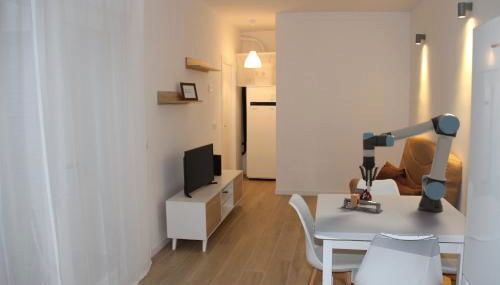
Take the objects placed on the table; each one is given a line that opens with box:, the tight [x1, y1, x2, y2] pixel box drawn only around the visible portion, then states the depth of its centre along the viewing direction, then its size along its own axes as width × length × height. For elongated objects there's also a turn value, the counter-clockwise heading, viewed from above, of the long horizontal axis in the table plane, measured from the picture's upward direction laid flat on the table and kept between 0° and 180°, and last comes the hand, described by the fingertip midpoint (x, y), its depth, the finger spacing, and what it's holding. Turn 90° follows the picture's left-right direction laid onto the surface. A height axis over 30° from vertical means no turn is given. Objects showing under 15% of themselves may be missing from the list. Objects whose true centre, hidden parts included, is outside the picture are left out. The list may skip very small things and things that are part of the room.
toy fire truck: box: [353, 187, 373, 202], centre depth 309 cm, size 7×12×10 cm, turn 63°
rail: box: [340, 197, 384, 215], centre depth 291 cm, size 26×8×6 cm, turn 55°
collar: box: [350, 193, 360, 207], centre depth 294 cm, size 4×6×7 cm
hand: (368, 191), depth 288 cm, fingers closed
